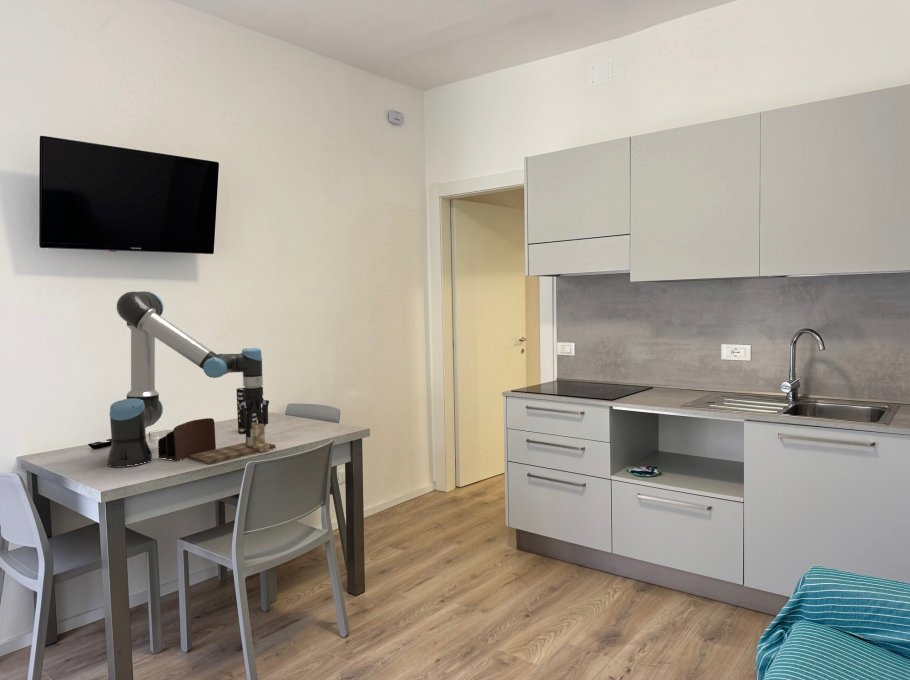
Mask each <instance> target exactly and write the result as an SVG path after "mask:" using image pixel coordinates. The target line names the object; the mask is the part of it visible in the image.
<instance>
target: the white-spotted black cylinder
mask: <svg viewBox="0 0 910 680" xmlns="http://www.w3.org/2000/svg"><path fill="white" fill-rule="evenodd" d="M244 399H245V397H244V387H238V388H236V407H237V408H236V411H237V433H238V434H240V435H241V434H242V435H244V434H245V435H246V430H243V429H241V422H240V410H239V407H238V405H239V404H242V403H244ZM245 407H246V406H245ZM246 408H247V407H246ZM246 408H245V409H246ZM246 414H247V412H246ZM253 422H255V423H258V420H257V416H256V411H255V410H254V412H253V416H252V423H253Z"/></svg>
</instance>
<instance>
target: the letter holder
mask: <svg viewBox="0 0 910 680" xmlns="http://www.w3.org/2000/svg"><path fill="white" fill-rule="evenodd" d="M215 424H216V423H215V419H213V417H211V418H210V417H207V418H200V419H199V418H198V419H194V420H190V421H189V420H188V421H186V422H183V423H181V424H179V425H176V426H175V427H173V430H172V431H169V432H168V433H166V435H164V436H162V437H161V438H159V439H158V442H157V443H158V444H157V445H158V447H157V451H158V457H159V458H166V459H172V460H179V461H181V460H180V459H182V460H185V459H184V458H186V459H188V458H187V457H188V455H193V454H197V453H201V452H206V451H210V450H214V449H217V444H216V443H217V442H216V426H215ZM158 457H157V458H158ZM159 458H158V459H159Z"/></svg>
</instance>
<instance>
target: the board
mask: <svg viewBox="0 0 910 680" xmlns="http://www.w3.org/2000/svg"><path fill="white" fill-rule="evenodd" d="M268 443H269V442H268ZM273 448H275V449H277V448H276V444H274V443H269V449H271V450H274V449H273ZM257 452H259V449H257V448H253V447H249V446H246V441H245V442H241V443H236V444H233V445H227V446H224V447H220V448H219V447H218V448H216V449H214V450H210V451H206V452H201V453H197V454H193V455H188V457H189V458H188V460H189V459H191V460H190V461H193V460H194V462H197V461H198V463H201V462H202V463H201V464H205V463H206V464H205V465H209V464H210V465H214V464H218V463H222V462H226V461H229V459H230V460H235V459H238V458H241V456H243V457H246V456H245V455H247V456H250V455H249V454H251V455H254V454H253V453H255V454H258V453H257ZM259 453H260V452H259ZM225 460H226V461H225ZM221 461H222V462H221ZM217 462H218V463H217ZM213 463H214V464H213Z"/></svg>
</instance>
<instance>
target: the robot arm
mask: <svg viewBox="0 0 910 680" xmlns="http://www.w3.org/2000/svg"><path fill="white" fill-rule="evenodd" d="M116 311H117V314H118V315H119V317H120V318H121V319H122V320H123V321H125V323H126V326H127V328H129V329H130V390H129V391H128V392H127V393H126V398H125V399H122V400H118V401H115V402H112V404H111V405H110V406H109V419H110V433H111V445H110V449H109V452H108V456H107V459H106V460H107V466H108V465H111V466H127V465H135V464H140V463H144V462H148V461H150V460H151V459H152V460H153V454H152V451H151V449H150V446H149V445H148V441H147V434H146V428H148V427H151V426H153V425H154V424H155V423H157V422H158V421H159V420H160V419H161V417H162V415H163V410H164V408H163V404H162V402H161V400H160V397H159V395H160V393H159V392H158V391H157V390H156V386H155V381H156V379H155V377H156V376H155V375H156V362H155V361H156V339H157V340H158V341H160V342H161V343H163V344H164V345H165V346H167V347H168V348H170V349H171V350H173V351H175V352H177V354H180V355H181V356H182V357H184V358H185V359H187V360H189V361H190V362H191V363H193V364H194V365H196V366H197V367H199V368H200V369H202V370H203V372H204V374H205V375H206V376H207V377H209V378H212V379H216V378H217V379H218V378H221V377H223V376H224V375H226V374H227V375H228V374H229V373H231V374H232V373H242V384H243V385H242V386H243V388H244V397H245V399H244V403H242V404H239V405H238V407H239V410H240V422H241V428H244V429H245V430H246V434H245V438H246V437H247V440H248V445H251V446H252V445H253V429H251V424H252V416H253V412H254V410H255V411H256V416H257V423H260V424H264V428H265V427H266V426H267V425H268V424H269V404H270V400H268V399H264V387H263V385H264V382H263V381H264V379H263V378H264V377H263V358H262V357H263V355H262V350H261V349H260V348H257V347H247V348H243V349H242V350H241V352H240V353H218V354H217V353H215V352H214V351H212V350H211V349H210V348H208V347H207V346H205V345H204V344H203V343H201V342H199V341H198V340H196V339H195V338H194V337H192V336H191V335H190V334H188V333H186V332H185V331H183V330H182V329H181V328H179V327H177V326H176V325H175V324H173V323H171V322H170V321H168V320H167V319H166V318H164V317H162V314H163V313H164V303H163V301H162V299H161V298H160V297H159V296H158V295H157V294H156V293H154V292H150V291H145V290H144V291H128V292H125V293H124V294H122V295H120V297H119V298H118V300H117V302H116ZM245 406H246V407H247V408H246V407H245ZM245 408H246V409H245ZM246 412H247V414H246ZM152 460H151V461H152ZM151 461H150V462H151ZM148 463H149V462H148ZM111 466H110V467H111Z"/></svg>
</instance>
